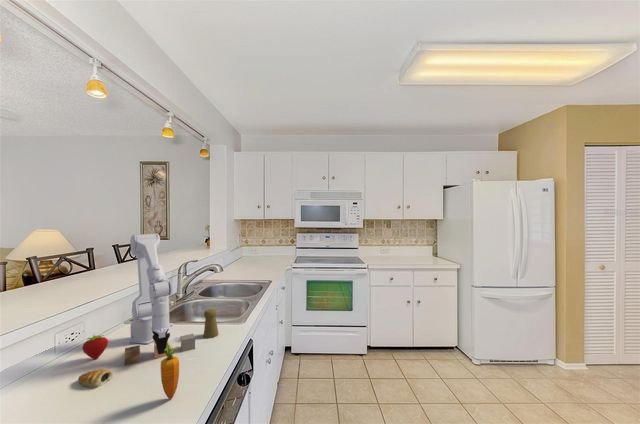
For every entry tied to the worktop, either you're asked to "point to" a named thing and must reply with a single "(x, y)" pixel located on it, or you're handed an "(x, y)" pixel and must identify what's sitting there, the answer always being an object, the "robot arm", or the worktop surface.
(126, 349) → the walnut cube
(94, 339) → the strawberry
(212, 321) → the pepper mill
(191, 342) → the gray cube
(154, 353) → the terracotta cube
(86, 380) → the pastry
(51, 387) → the worktop surface
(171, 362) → the carrot
